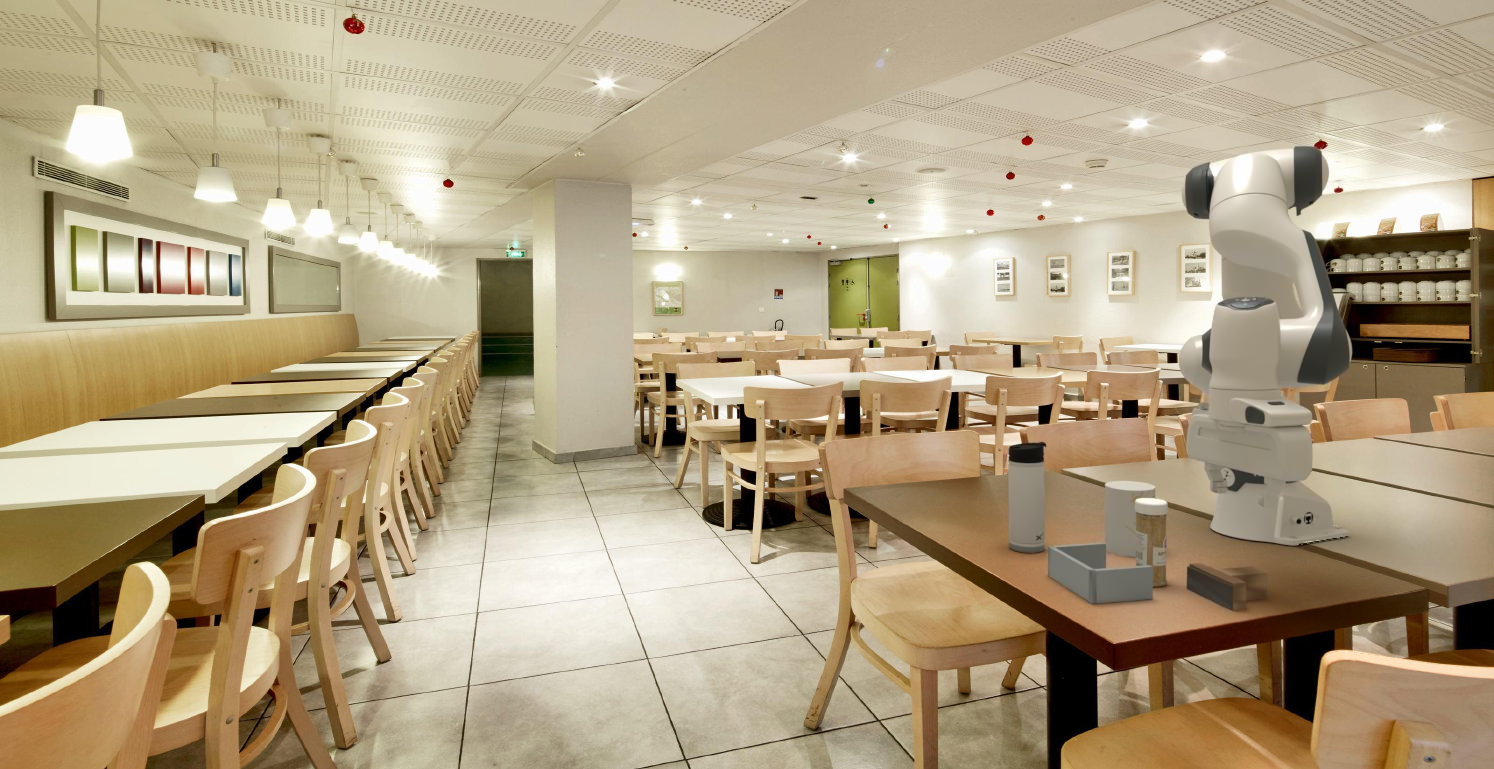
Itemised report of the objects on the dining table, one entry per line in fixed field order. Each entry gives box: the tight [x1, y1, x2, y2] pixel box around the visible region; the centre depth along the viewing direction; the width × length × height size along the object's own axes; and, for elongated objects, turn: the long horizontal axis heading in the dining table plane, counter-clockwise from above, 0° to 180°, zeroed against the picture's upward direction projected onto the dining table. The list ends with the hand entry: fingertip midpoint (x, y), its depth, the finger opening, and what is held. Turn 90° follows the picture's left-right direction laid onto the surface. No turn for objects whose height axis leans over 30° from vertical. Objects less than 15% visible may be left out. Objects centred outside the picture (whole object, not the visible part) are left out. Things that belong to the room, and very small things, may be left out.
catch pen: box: [1047, 542, 1154, 605], centre depth 117 cm, size 10×13×5 cm
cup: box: [1104, 480, 1156, 558], centre depth 134 cm, size 8×8×12 cm
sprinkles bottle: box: [1135, 497, 1169, 588], centre depth 118 cm, size 5×5×13 cm
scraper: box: [1186, 562, 1269, 611], centre depth 111 cm, size 8×9×4 cm
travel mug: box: [1007, 441, 1047, 554], centre depth 137 cm, size 6×7×20 cm
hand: (1242, 499), depth 110 cm, fingers open, 8 cm apart
